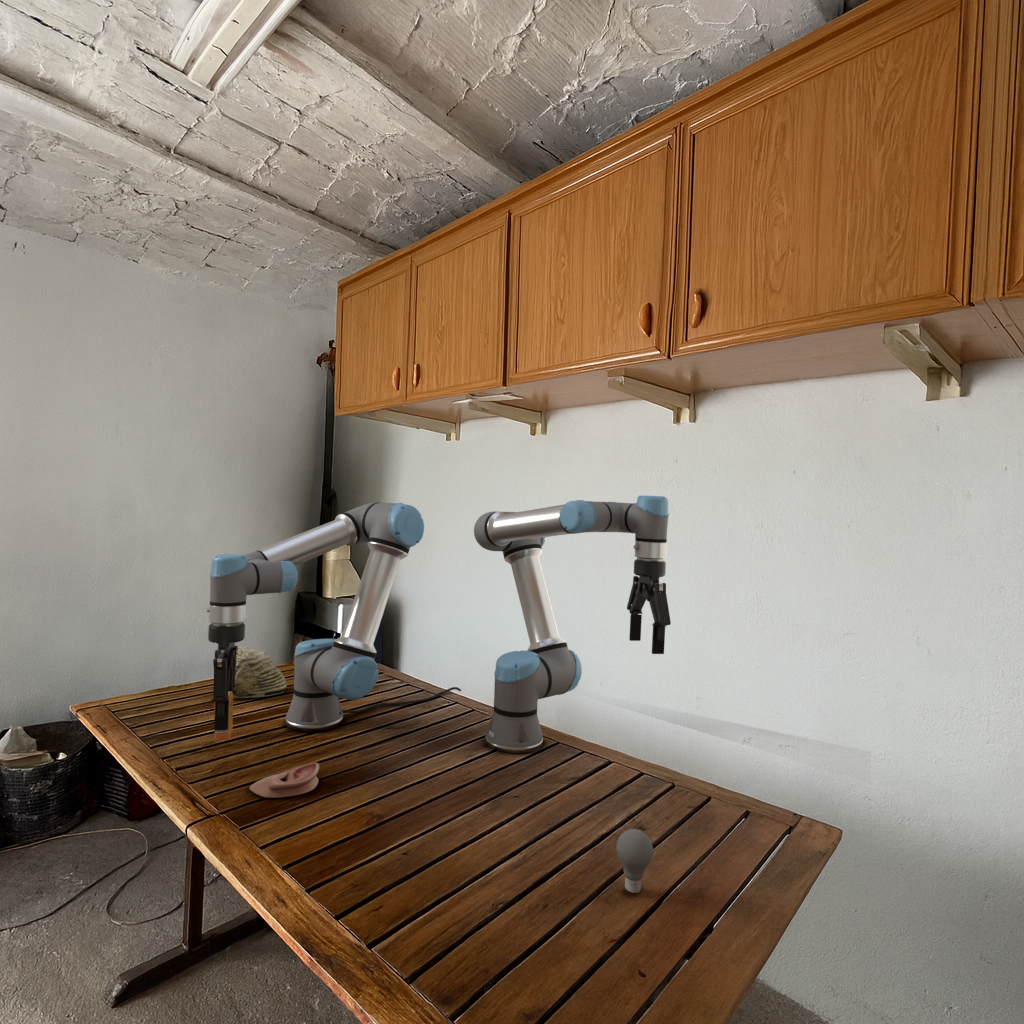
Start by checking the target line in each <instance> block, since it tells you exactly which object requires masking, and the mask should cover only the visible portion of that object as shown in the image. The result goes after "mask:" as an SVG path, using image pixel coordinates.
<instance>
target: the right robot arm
mask: <svg viewBox="0 0 1024 1024" xmlns="http://www.w3.org/2000/svg"><path fill="white" fill-rule="evenodd" d="M669 516H670V512H669V499H668V498H667V497H666V496H663V495H638V496H637V498H636V502H634V503H633V502H620V501H619V502H618V501H592V500H583V499H576V500H569V501H567V502H566V503H565V504H558V505H552V506H547V507H540V508H534V509H530V510H529V509H528V510H522V511H498V510H497V511H495V510H494V511H488V512H485V513H483V514H481V515H480V516H479V517H478V518H477V519H476V521H475V523H474V526H473V535H474V538H475V541H476V542H477V544H478V545H479V546H480V547H481V548H483V549H485V550H487V551H491V552H502V555H503V559H504V561H505V562H506V563H508V564H509V565H510V566H511V570H512V574H513V575H512V576H513V579H514V583H515V587H516V591H517V594H518V598H519V603H520V607H521V612H522V615H523V620H524V622H525V623H524V624H525V628H526V632H527V636H528V639H529V640H528V641H529V647H528V648H527V650H513V651H509V652H506V653H503V654H501V655H500V656H499V657H498V658H497V659H496V661H495V669H494V691H493V692H494V693H493V712H492V715H491V718H490V721H489V723H488V725H487V729H486V732H485V738H484V739H485V744H486V745H487V746H488V748H491V749H493V750H495V751H499V752H502V753H509V754H526V753H532V752H534V751H538V750H539V749H540V748H542V746H543V743H544V736H543V731H542V728H541V723H540V721H539V717H538V702H539V700H542V699H546V698H550V697H554V696H561V695H565V694H566V693H568V692H571V691H573V690H575V688H576V687H578V685H579V682H580V681H581V678H582V674H583V673H582V671H583V670H582V662H581V659H580V657H579V656H578V654H576V653H575V651H574V650H571V649H570V648H569V647H568V643H567V641H566V640H565V639H563V638H562V637H561V636H560V633H559V629H558V627H557V626H558V625H557V622H556V617H555V614H554V610H553V606H552V601H551V599H550V594H549V591H548V587H547V583H546V579H545V575H544V570H543V568H542V564H541V560H540V557H541V555H542V554H543V546H544V545H545V543H546V540H545V538H548V537H555V536H556V537H557V536H565V535H575V534H585V533H623V534H634V538H635V539H634V540H635V541H634V545H633V549H634V557H635V559H634V561H633V574H634V576H633V577H632V579H633V580H632V586H631V590H630V594H629V597H628V601H627V604H626V611H629V612H628V613H629V614H630V615H629V616H630V617H629V637H628V638H629V639H628V640H629V641H630V642H640V641H641V639H642V638H641V637H642V622H643V621H642V618H643V611H642V610H643V607H644V605H645V603H646V602H648V603H649V606H650V610H651V615H652V618H653V623H652V625H651V626H652V637H651V638H652V639H651V654H652V655H664V654H665V642H666V641H665V640H666V627H667V626H670V625H671V624H672V622H671V615H670V609H669V603H668V597H667V583H666V582H660V578H663V577H665V576H666V571H667V570H666V569H667V568H666V567H667V562H666V561H665V560H666V559H667V554H668V553H667V552H668V551H667V550H668V542H667V541H668V538H667V537H668V526H669Z"/></svg>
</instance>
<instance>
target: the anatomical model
mask: <svg viewBox="0 0 1024 1024" xmlns="http://www.w3.org/2000/svg"><path fill="white" fill-rule="evenodd" d="M319 770H320V764H319V763H318V762H310V763H307V764H303V765H299V766H297V767H294V768H290V769H288V770H285V771H282V772H279V773H276V774H272V775H269V776H266V777H264V778H261V779H259V780H257V781H255V782H254V783H253V784H251V785H250V786H249V790H250V792H251V793H253V794H256V795H257V796H259V797H263V798H266V799H267V798H268V799H274V798H275V799H276V798H286V797H288V798H289V797H293V796H299V795H303V794H306V793H308V792H310V791H313V790H314V789H316V787H317V786H318V784H319V778H318V777H317V775H318V773H319Z"/></svg>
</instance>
